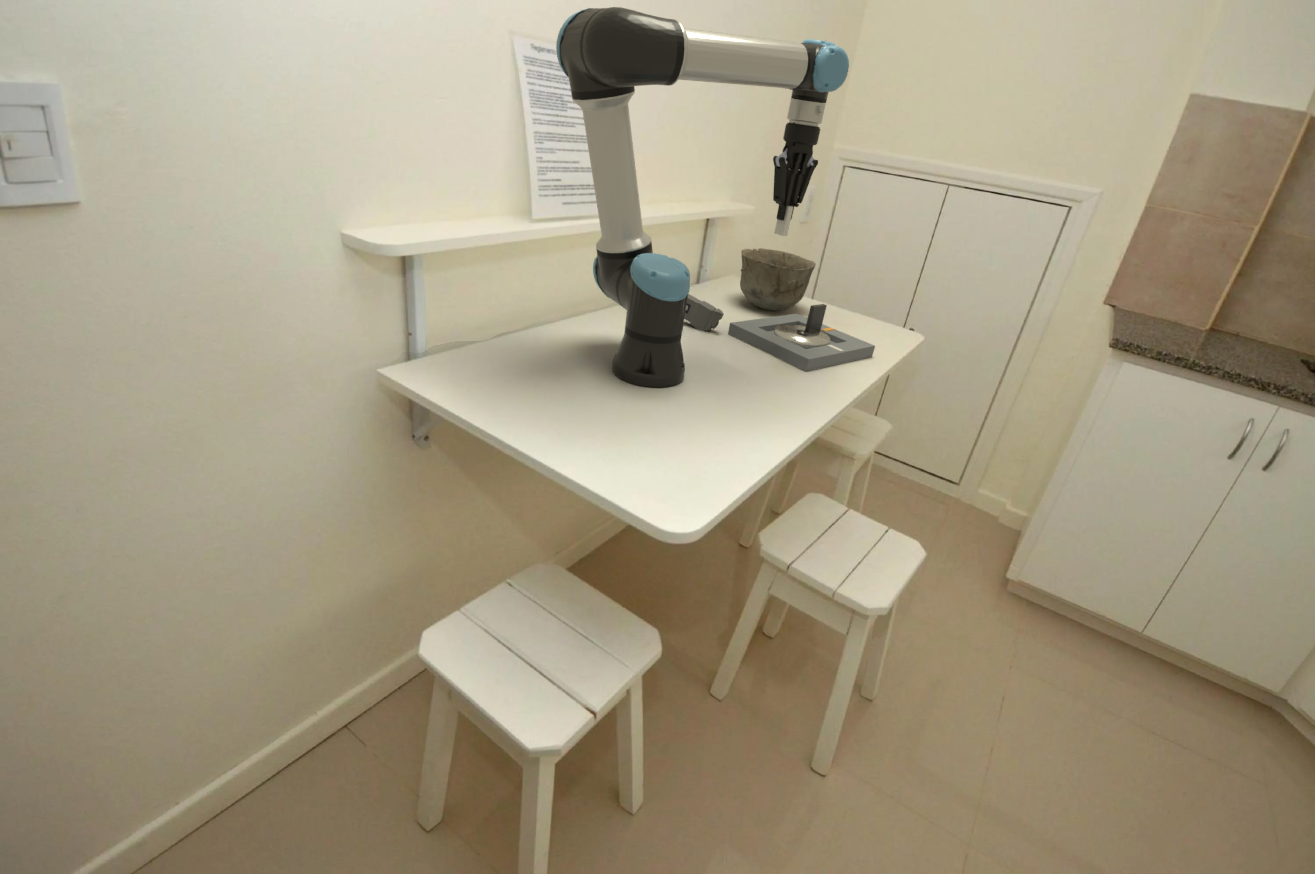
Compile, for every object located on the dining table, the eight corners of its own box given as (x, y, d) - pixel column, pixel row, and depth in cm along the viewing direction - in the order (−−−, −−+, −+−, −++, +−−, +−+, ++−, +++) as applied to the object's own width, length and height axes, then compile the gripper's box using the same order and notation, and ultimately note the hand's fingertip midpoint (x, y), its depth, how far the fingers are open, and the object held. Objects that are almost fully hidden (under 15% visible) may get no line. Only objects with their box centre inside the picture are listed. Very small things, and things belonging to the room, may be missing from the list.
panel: (805, 371, 150) (809, 358, 149) (727, 334, 167) (730, 322, 166) (871, 356, 166) (875, 345, 164) (794, 324, 183) (797, 312, 182)
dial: (840, 345, 166) (848, 312, 162) (805, 352, 157) (813, 318, 153) (797, 327, 175) (804, 296, 171) (762, 333, 166) (769, 300, 162)
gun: (693, 361, 172) (721, 315, 163) (622, 305, 176) (646, 257, 168) (698, 358, 174) (726, 313, 166) (628, 302, 179) (652, 256, 170)
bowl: (762, 293, 208) (772, 245, 201) (819, 314, 195) (831, 264, 188) (716, 300, 194) (724, 249, 187) (773, 323, 181) (784, 269, 174)
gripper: (797, 123, 136) (773, 239, 147) (836, 128, 144) (810, 237, 155) (770, 118, 141) (749, 231, 152) (809, 124, 149) (787, 230, 159)
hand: (780, 234), depth 153 cm, fingers closed
